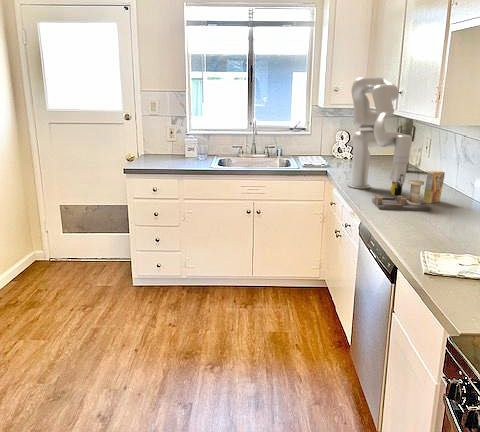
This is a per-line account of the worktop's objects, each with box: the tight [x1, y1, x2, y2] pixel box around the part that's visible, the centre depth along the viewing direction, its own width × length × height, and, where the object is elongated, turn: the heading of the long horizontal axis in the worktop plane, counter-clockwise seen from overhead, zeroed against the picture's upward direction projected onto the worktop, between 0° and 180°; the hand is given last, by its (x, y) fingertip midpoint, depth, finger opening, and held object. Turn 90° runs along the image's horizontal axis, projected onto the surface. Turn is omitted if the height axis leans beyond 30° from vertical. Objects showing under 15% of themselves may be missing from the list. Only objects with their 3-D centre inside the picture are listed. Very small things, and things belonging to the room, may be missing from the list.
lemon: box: [390, 183, 403, 198], centre depth 235 cm, size 6×6×8 cm
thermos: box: [396, 117, 417, 173], centre depth 303 cm, size 9×12×35 cm
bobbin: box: [406, 179, 425, 206], centre depth 220 cm, size 7×7×11 cm
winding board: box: [371, 194, 432, 212], centre depth 222 cm, size 14×24×4 cm, turn 88°
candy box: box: [422, 170, 446, 204], centre depth 230 cm, size 9×4×15 cm, turn 123°
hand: (395, 193), depth 235 cm, fingers closed on lemon, 5 cm apart
